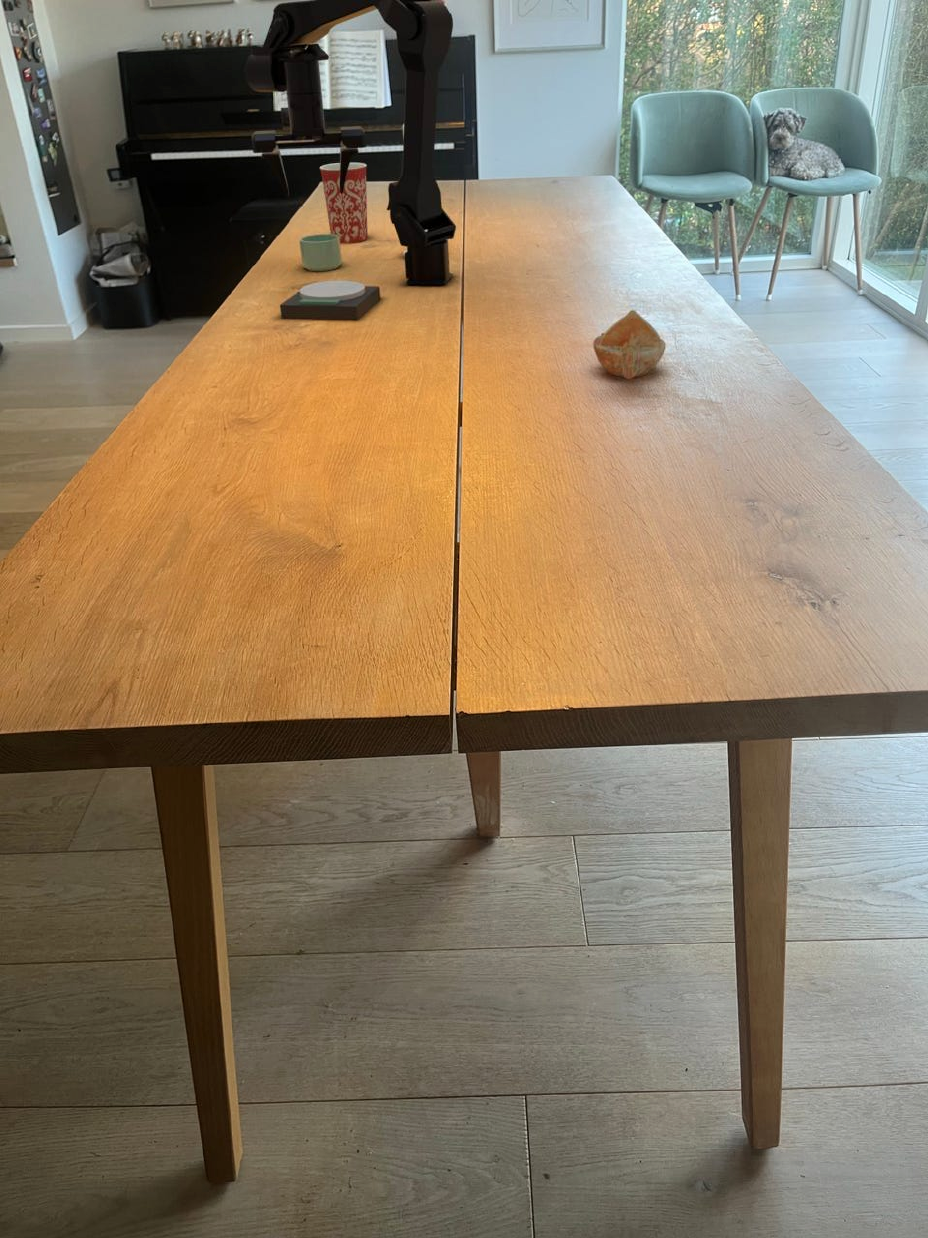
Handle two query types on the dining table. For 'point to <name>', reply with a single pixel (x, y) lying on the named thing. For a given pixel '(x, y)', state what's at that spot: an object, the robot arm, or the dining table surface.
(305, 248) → the bowl
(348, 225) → the mug
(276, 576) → the dining table surface
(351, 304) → the scale
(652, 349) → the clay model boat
